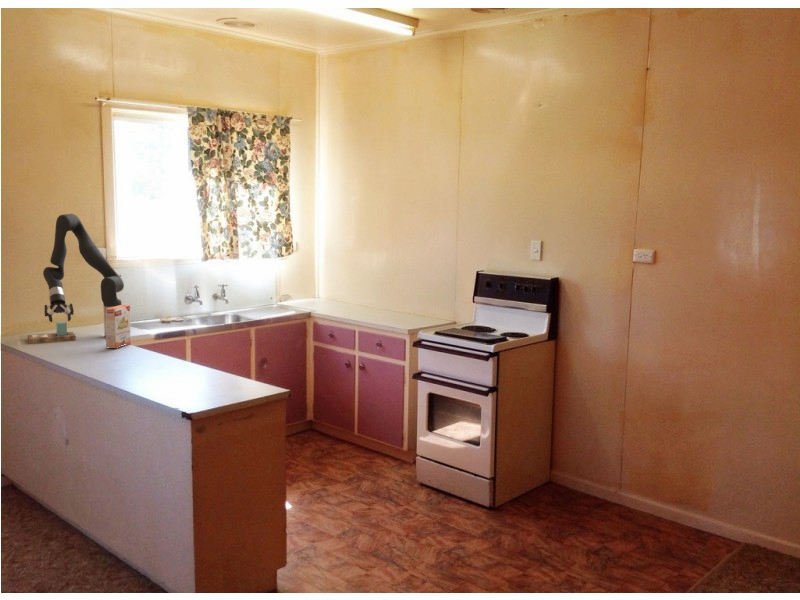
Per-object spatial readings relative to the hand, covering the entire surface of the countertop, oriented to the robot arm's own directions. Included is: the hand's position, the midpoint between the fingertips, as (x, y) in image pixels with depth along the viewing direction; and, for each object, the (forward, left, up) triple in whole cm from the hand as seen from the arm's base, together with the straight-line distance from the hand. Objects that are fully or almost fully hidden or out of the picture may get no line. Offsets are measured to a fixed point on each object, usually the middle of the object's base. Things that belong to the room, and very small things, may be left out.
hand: (60, 321), depth 391 cm
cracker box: (-37, +16, -10) cm, 42 cm away
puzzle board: (+2, +6, -10) cm, 12 cm away
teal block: (-2, +4, -9) cm, 10 cm away
